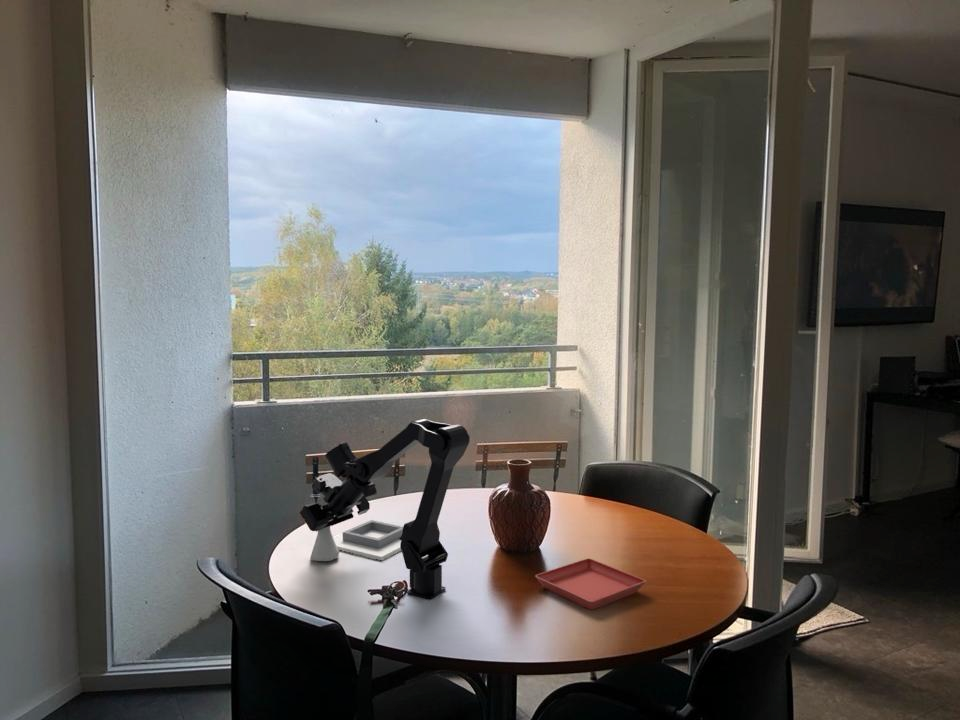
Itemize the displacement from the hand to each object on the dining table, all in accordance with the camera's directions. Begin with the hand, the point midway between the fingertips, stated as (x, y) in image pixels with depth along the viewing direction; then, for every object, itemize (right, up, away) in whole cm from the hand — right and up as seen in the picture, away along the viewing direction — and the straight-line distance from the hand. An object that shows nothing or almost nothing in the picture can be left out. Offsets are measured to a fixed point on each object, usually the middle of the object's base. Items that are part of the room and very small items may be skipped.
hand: (320, 528), depth 181 cm
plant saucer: (+65, -11, -17) cm, 68 cm away
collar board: (+12, -7, +13) cm, 19 cm away
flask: (+1, -7, 0) cm, 7 cm away
